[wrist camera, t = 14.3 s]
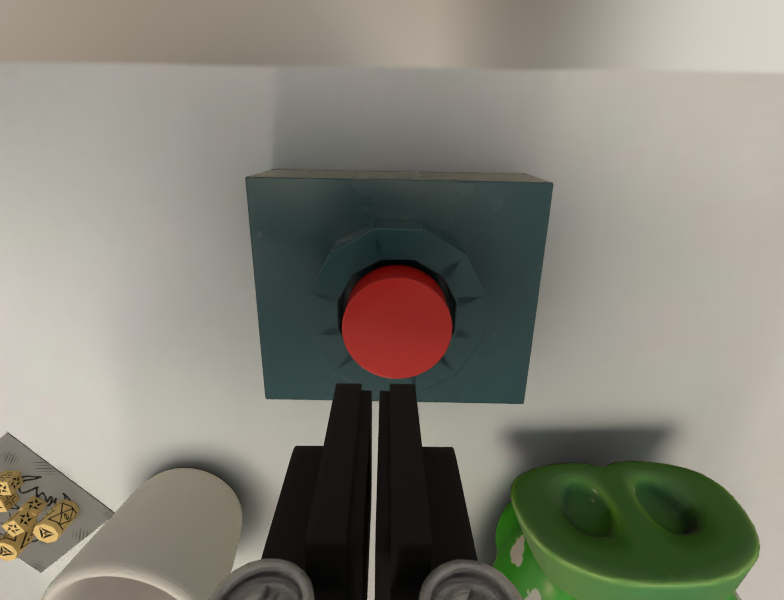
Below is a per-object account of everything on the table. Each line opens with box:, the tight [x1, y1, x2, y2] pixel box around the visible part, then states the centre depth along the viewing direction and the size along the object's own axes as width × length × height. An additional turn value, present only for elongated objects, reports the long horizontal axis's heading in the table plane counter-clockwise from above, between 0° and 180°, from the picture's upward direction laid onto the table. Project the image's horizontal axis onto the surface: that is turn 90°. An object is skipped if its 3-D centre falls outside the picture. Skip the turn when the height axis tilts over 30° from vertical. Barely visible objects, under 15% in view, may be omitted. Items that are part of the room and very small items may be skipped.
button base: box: [245, 169, 553, 404], centre depth 20 cm, size 12×10×6 cm
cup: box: [41, 468, 242, 600], centre depth 25 cm, size 11×8×8 cm
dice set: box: [0, 471, 80, 561], centre depth 28 cm, size 5×5×2 cm
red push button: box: [342, 265, 452, 379], centre depth 17 cm, size 4×4×2 cm
